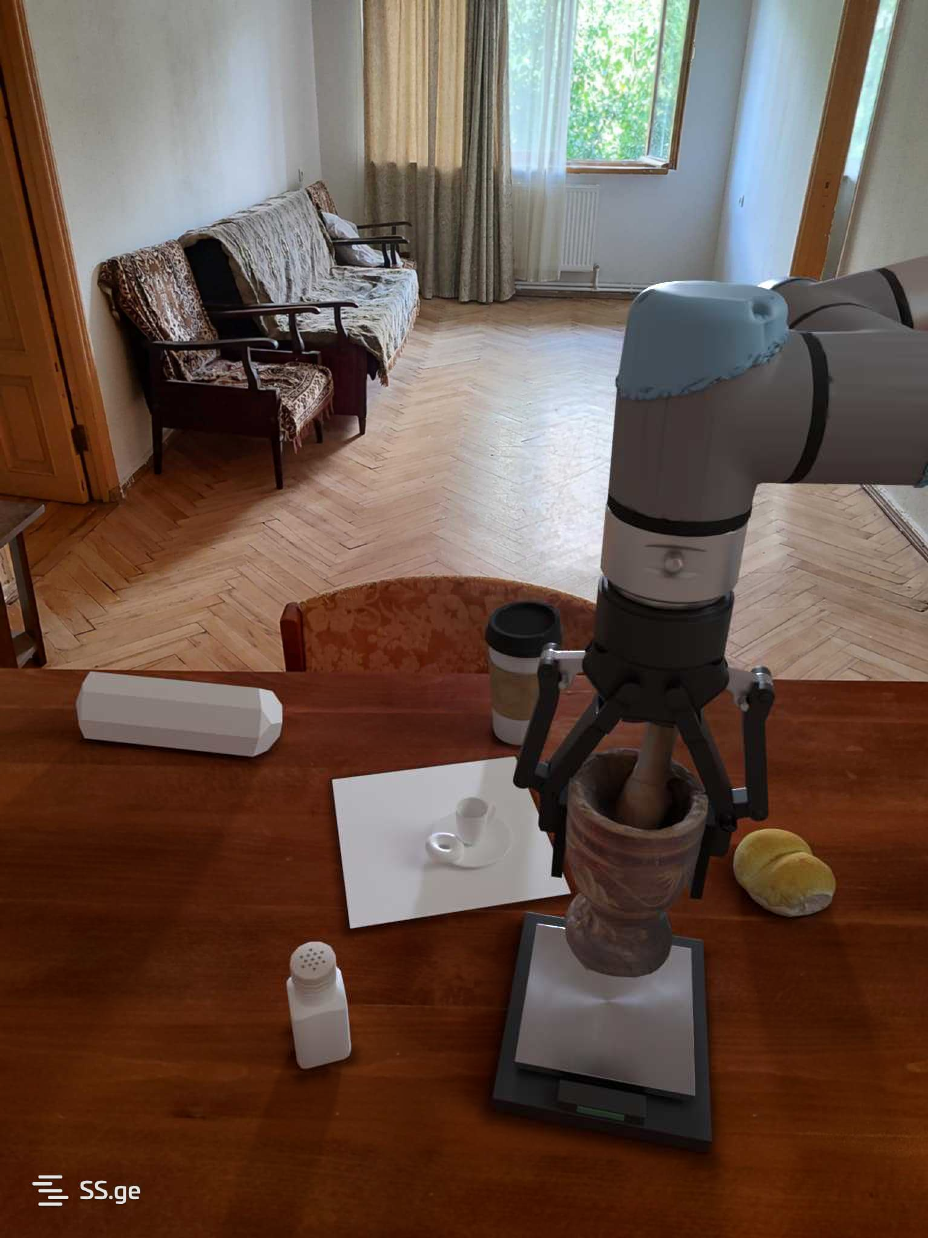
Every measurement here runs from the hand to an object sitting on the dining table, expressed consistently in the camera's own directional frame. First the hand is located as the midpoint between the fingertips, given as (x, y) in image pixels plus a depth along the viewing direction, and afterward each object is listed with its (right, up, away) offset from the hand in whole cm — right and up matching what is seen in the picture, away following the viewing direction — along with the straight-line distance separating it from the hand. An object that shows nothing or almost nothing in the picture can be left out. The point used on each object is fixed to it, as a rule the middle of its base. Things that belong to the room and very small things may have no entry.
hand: (625, 873), depth 60 cm
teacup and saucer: (-13, -4, +26) cm, 30 cm away
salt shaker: (-22, -15, +7) cm, 27 cm away
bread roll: (+18, -7, +21) cm, 29 cm away
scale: (0, -14, +8) cm, 16 cm away
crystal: (-43, +4, +40) cm, 59 cm away
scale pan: (0, -12, +7) cm, 14 cm away
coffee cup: (-5, +5, +41) cm, 41 cm away
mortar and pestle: (0, -4, +2) cm, 5 cm away
